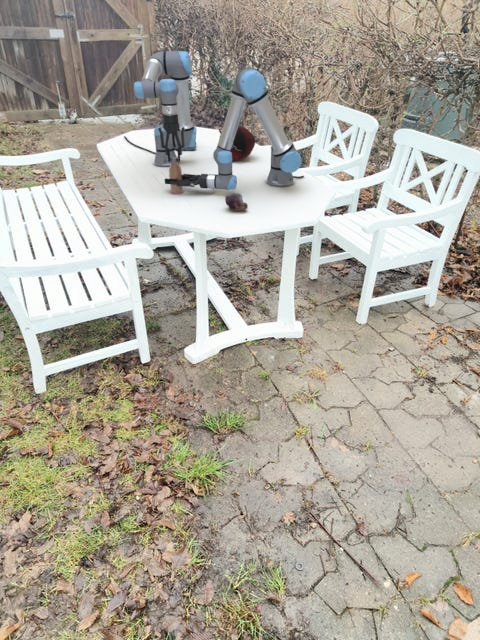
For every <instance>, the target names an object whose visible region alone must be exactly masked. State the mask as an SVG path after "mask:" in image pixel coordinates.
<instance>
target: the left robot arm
mask: <svg viewBox="0 0 480 640" xmlns="http://www.w3.org/2000/svg"><path fill="white" fill-rule="evenodd" d="M192 67H193V66H192V61H191V57H190V54H189V52H188V51H186V50H185V51H183V50H170V51H169V50H167V51H165V50H162V51H157V52H155V53H153V54H152V55H151V56H149V57H148V59H146V62H145V65H144V69H145V70H144V72H143V75H142V78H141V81H134V84H133V92H134V96H135V97H136V99H142V100H144V99H160V100H161V110H162V120H163V122H162V123H163V124H162V125H158V126H156V127H155V128H154V129H153V136H154V145H155V152H154V151H152V150H150V149H148V148H144V147H141V146H140V145H137V144H135V143H133V142H131V141H130V140H129V139H128V138H127V137H126V136H125V135H124V136H123V137H124V138H125V140H126V141H127V142H128V143H129V144H131V145H132V146H134V147H136V148H139V149H141V150H144V151H147V152H150V153H151V154H153V155H154V165H155V166H157V167H163V168H164V167H165V168H167V167H168V168H169V167H170V166H171V164H172V162H171V157H178V162H177V163H178V164H179V163H181V156H182V155H183V150H182V148H184V147H193V146H195V143H196V144H197V127H196V126H195V125H194V123H193V121H192V118H191V107H190V106H191V105H190V94H189V80H190V78H191V75H193V68H192ZM160 76H169V78H164V79H160V80H159V81H158V79H159V77H160ZM174 147H178V149H176V151H177V153H176V151H175V149H174Z"/></svg>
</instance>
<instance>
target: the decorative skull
mask: <svg viewBox="0 0 480 640" xmlns="http://www.w3.org/2000/svg"><path fill="white" fill-rule="evenodd" d="M221 132H222V129H221V128H218V133H219V134H220V135H221ZM255 145H256V137H255V135H254V134H253V133H252V132H251V131H250V130H249V129H247V128H246V127H244V126H241V125H238V129H237V132H236V135H235V138H234V141H233V144H232V147H231V150H230V152H231V153H232V161H242V160H245V159H247V158H248V157H249V156H250V155H251V154H252V152H253V150H254V148H255Z"/></svg>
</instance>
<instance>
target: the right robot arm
mask: <svg viewBox="0 0 480 640" xmlns="http://www.w3.org/2000/svg"><path fill="white" fill-rule="evenodd" d="M269 93H270V92H269V89H268V88H267V85H266V79H265V78H264V75H262V73H261V72H259V71H258V70H255V69H253V68H250V67H245V68H242V69H240V70H239V71H238V72H237V74H236V75H235V78H234V82H233V85H232V90H231V93H230V95H231V99H230V103H229V106H228V109H227V113H226V115H225V119H224V123H223V126H222V129H221V131H222V132H221V134H220V135H219V139H218V143H217V146H216V148H215V149H214V151H213V154H212V156H213V160H214V161H215V163H216V165H217V170H218V171H217V174H216V173H209V174H208V173H201V174H190V173H182V180H177V179H170V176H169V175H168V178H164V184H165V185H170V184H174V185H176V186H183V187H190V188H195V186H199V187H200V189H209V190H213V191H214V190H224V191H234V190H236V189H237V186H238V177H237V176H236V175H234V174H233V160H232V153H231V152H230V150H231V147H232V144H233V141H234V138H235V135H236V132H237V129H238V126H240V121H241V119H242V116H243V113H244V110H245V108H246V104H247V106H248V107H252V108H253V111H254V113H255V115H256V117H257V119H258V121H259V123H260V125H261V127H262V129H263V131H264V133H265V135H266V138H267V139H268V141H269V143H270V144H271V145H270V169H269V172H268V175H267V178H266V183H267V184H268V185H269V186H271V187H272V186H273V187H280V188H281V187H282V188H283V187H289V186H292V185H293V184H294V179H302V178H304V177H305V176H304V175H300V176H297V175H294V176H293V174H294V173H295V172H297V171H298V170H299V169H300V167H301V165H302V163H303V161H302V156H301V153H300V152H298V151H297V148H296V147H295V145H294V143H293V141H292V140H290V139H288V137H287V135H286V132H285V131H284V128H283V127H282V125H281V122H280V120H279V118H278V116H277V114H276V111H275V109H274V107H273V106H272V103H271V102H270V99H269Z"/></svg>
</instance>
